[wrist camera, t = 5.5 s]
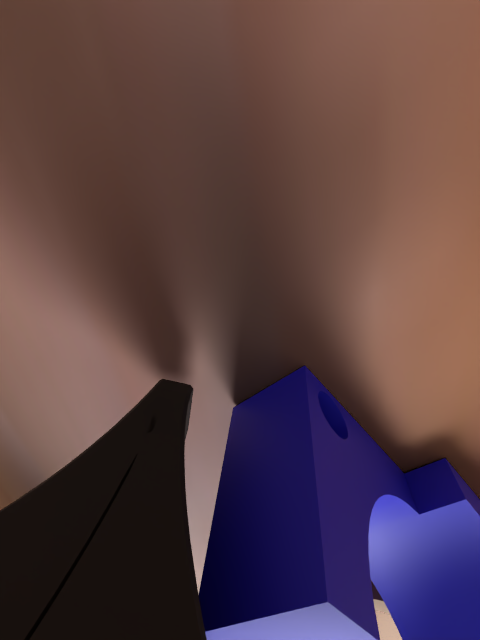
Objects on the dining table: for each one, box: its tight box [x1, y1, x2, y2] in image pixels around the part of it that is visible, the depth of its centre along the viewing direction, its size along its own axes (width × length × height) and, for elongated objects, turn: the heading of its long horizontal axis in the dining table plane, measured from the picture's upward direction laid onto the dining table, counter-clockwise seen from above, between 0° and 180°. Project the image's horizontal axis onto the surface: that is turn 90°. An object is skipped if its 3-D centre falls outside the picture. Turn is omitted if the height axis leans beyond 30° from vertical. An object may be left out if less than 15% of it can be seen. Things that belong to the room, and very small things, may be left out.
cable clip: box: [199, 366, 480, 640], centre depth 10 cm, size 12×4×6 cm, turn 42°
